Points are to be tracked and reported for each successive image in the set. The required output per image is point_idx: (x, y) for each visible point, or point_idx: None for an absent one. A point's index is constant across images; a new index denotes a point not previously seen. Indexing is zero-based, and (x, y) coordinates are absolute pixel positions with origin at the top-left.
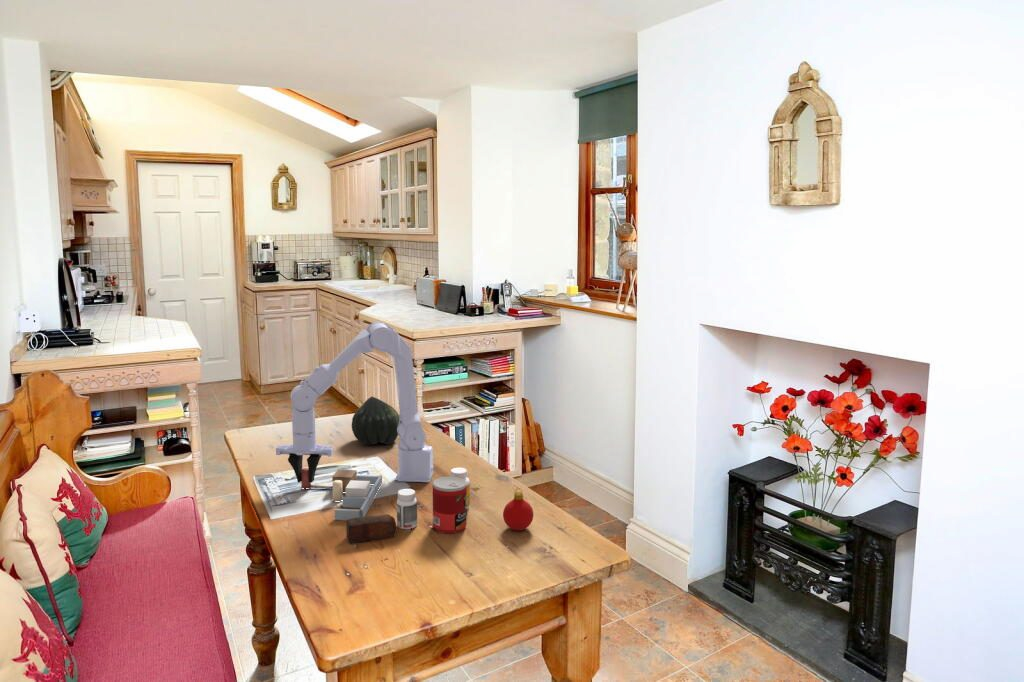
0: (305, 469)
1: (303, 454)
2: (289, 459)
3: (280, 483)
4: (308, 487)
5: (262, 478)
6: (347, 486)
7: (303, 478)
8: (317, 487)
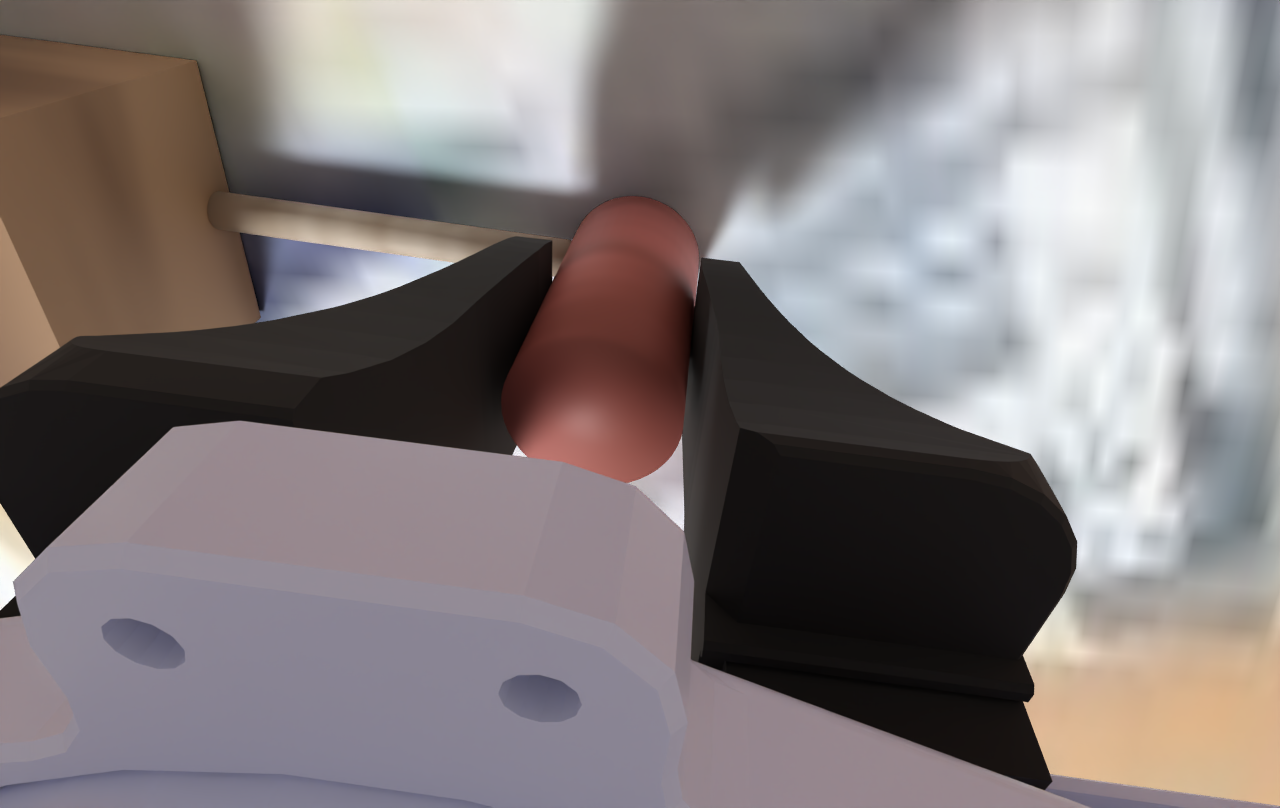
0: (599, 428)
1: (140, 477)
2: (1022, 487)
3: (994, 421)
4: (587, 222)
5: (1204, 558)
6: None
7: (634, 270)
8: (464, 225)
